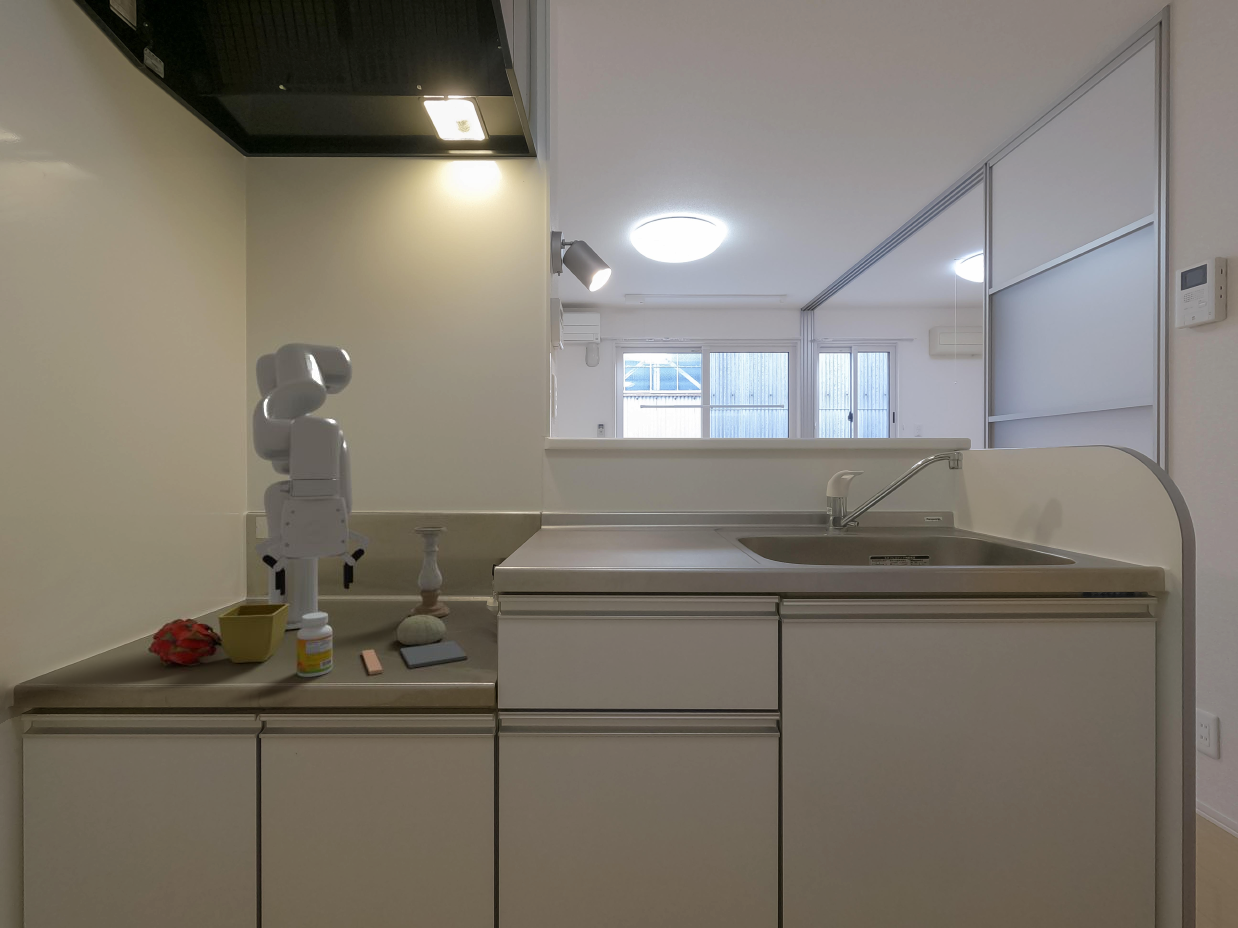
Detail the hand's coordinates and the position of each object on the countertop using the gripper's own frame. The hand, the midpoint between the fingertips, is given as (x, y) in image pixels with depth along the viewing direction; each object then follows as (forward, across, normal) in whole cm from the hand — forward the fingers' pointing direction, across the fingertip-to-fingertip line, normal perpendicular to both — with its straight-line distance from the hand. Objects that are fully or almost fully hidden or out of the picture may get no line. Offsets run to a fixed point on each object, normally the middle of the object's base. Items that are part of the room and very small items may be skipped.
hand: (315, 590), depth 100 cm
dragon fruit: (+14, -20, +17) cm, 29 cm away
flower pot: (+14, -9, +14) cm, 22 cm away
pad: (+14, +19, 0) cm, 24 cm away
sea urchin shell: (+14, +19, +10) cm, 26 cm away
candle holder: (+14, +25, +30) cm, 41 cm away
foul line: (+14, +9, +1) cm, 17 cm away
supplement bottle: (+14, 0, +1) cm, 14 cm away
